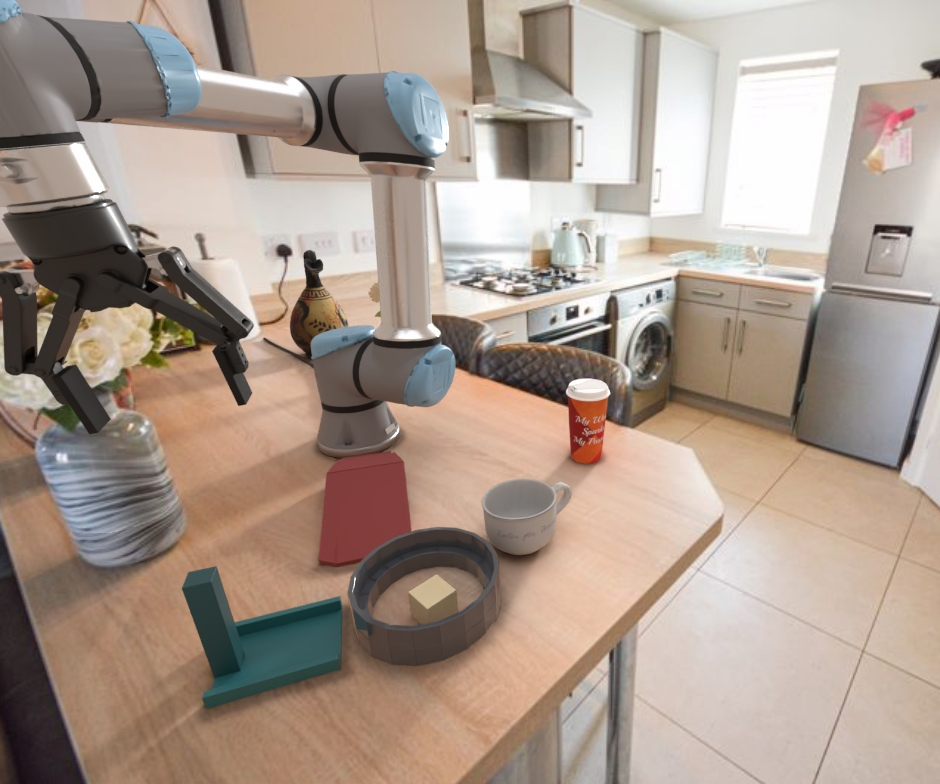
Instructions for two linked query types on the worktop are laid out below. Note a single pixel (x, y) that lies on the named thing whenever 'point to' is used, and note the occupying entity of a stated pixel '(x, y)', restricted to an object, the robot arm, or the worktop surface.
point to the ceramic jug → (314, 308)
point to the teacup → (522, 514)
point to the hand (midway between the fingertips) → (175, 413)
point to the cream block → (433, 600)
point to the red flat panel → (363, 507)
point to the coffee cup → (587, 418)
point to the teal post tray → (261, 641)
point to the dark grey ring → (410, 557)
